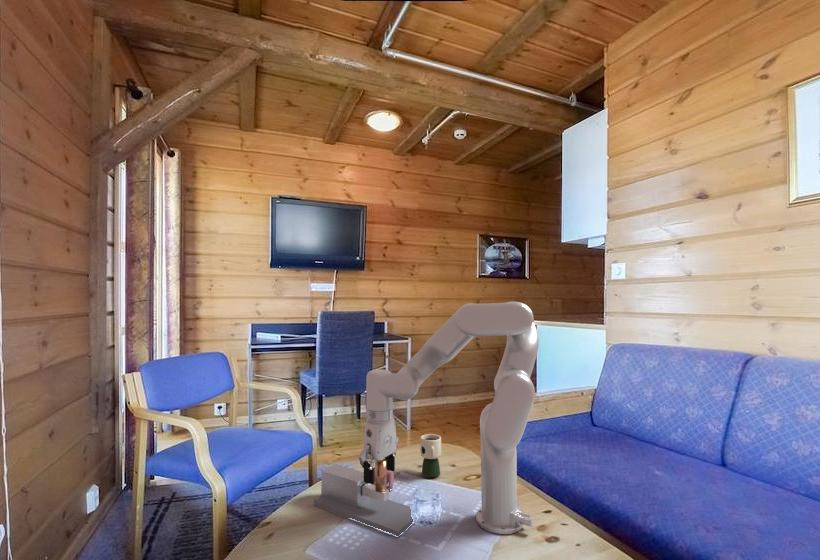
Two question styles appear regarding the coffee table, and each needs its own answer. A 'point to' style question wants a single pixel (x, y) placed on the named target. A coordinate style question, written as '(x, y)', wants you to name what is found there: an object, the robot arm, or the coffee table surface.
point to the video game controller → (387, 478)
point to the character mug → (430, 454)
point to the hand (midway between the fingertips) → (379, 476)
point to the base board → (372, 513)
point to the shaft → (377, 483)
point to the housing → (343, 485)
